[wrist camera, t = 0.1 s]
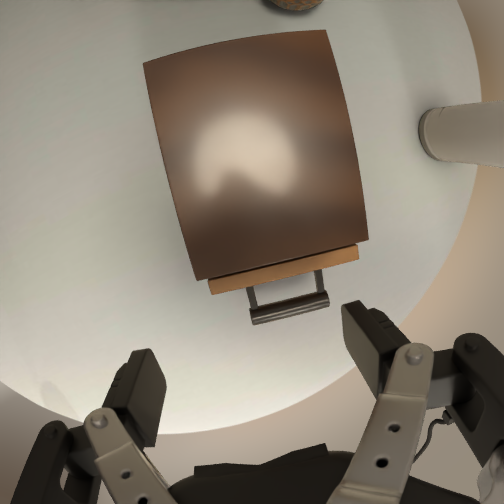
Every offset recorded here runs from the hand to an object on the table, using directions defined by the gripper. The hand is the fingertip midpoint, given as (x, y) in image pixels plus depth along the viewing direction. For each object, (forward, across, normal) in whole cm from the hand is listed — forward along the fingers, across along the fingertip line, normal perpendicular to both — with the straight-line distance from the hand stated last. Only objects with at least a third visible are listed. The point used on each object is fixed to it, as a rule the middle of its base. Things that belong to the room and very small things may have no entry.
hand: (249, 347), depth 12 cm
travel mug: (+20, +25, +6) cm, 33 cm away
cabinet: (+19, +3, +8) cm, 21 cm away
